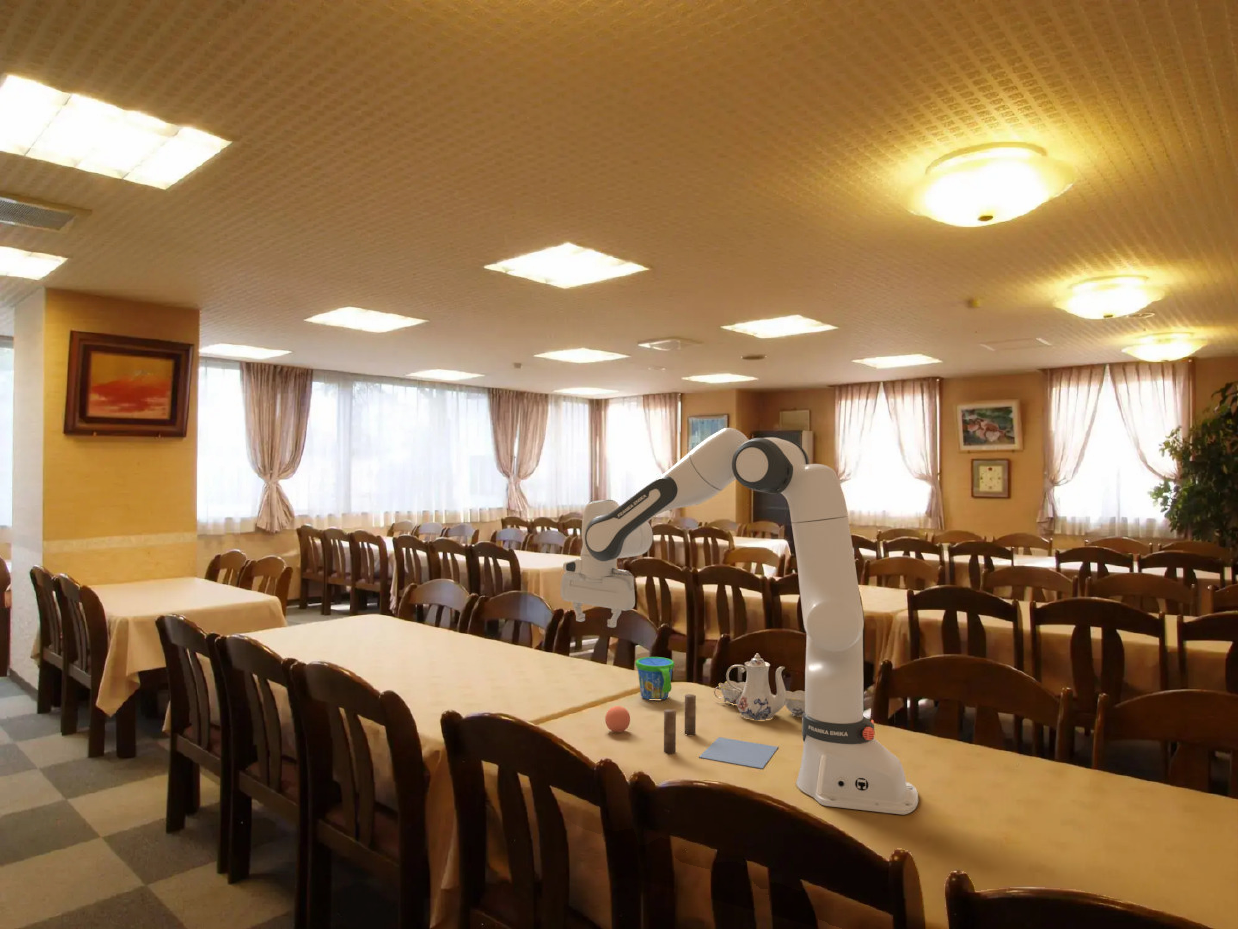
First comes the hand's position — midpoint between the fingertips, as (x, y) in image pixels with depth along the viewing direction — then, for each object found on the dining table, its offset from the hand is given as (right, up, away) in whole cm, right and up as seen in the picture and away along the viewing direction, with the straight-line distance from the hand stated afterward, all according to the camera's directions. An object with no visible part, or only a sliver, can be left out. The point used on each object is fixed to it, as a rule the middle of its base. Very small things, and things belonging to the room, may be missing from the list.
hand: (595, 624), depth 177 cm
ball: (+5, -23, -1) cm, 23 cm away
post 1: (+17, -25, -14) cm, 34 cm away
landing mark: (+32, -25, -14) cm, 43 cm away
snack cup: (+16, -27, +27) cm, 41 cm away
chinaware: (+43, -27, +14) cm, 52 cm away
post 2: (+23, -26, -2) cm, 34 cm away
